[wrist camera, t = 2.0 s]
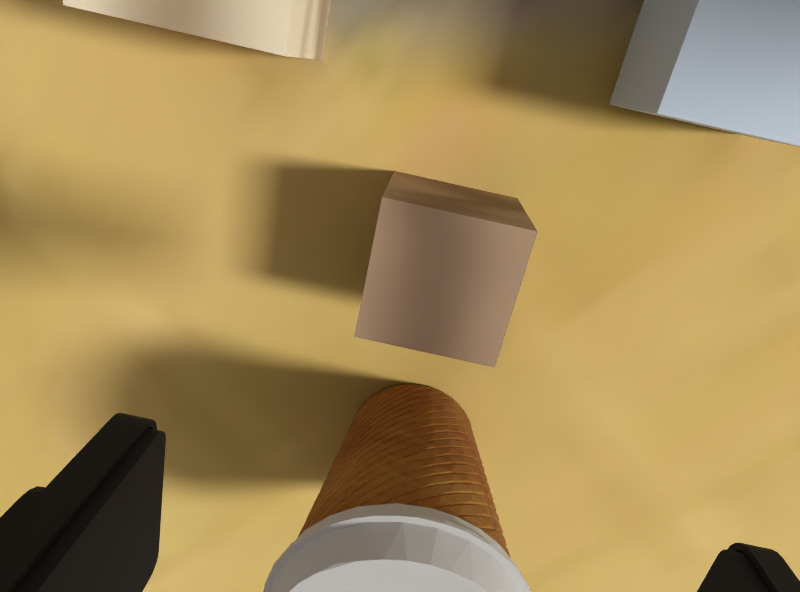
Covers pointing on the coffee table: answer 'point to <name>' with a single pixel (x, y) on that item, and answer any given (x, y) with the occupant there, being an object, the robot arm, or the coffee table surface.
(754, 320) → the coffee table surface
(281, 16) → the maple block
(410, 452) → the disposable coffee cup
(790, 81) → the slate-blue block
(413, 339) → the walnut block
